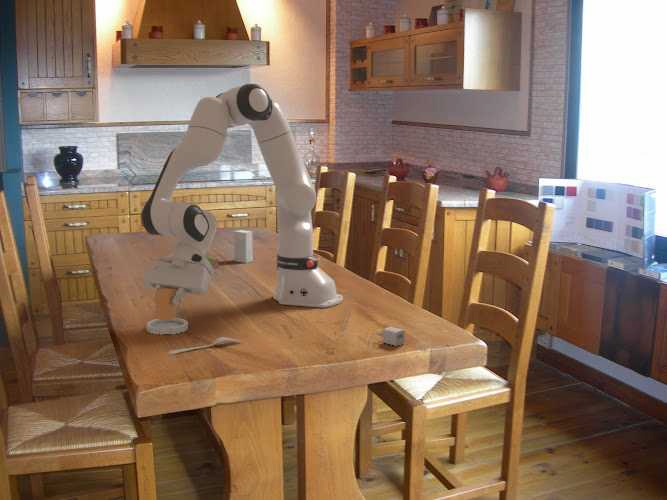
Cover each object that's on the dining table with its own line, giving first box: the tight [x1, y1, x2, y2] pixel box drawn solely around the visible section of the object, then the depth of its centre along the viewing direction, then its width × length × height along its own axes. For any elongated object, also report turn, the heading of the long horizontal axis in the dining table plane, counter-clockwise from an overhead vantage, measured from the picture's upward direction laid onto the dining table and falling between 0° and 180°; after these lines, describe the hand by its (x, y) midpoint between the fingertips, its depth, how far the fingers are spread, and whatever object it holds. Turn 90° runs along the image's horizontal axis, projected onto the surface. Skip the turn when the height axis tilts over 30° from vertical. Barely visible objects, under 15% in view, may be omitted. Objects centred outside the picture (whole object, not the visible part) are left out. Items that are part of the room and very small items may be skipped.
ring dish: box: [146, 317, 189, 336], centre depth 215 cm, size 11×11×2 cm
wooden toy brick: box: [154, 287, 178, 321], centre depth 214 cm, size 4×4×8 cm
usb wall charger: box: [376, 326, 406, 347], centre depth 205 cm, size 4×7×4 cm, turn 48°
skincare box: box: [233, 229, 254, 264], centre depth 302 cm, size 6×4×12 cm
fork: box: [167, 336, 242, 355], centre depth 200 cm, size 3×21×3 cm, turn 121°
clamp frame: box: [204, 256, 219, 270], centre depth 287 cm, size 10×18×3 cm, turn 155°
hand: (164, 302), depth 213 cm, fingers closed on wooden toy brick, 4 cm apart
